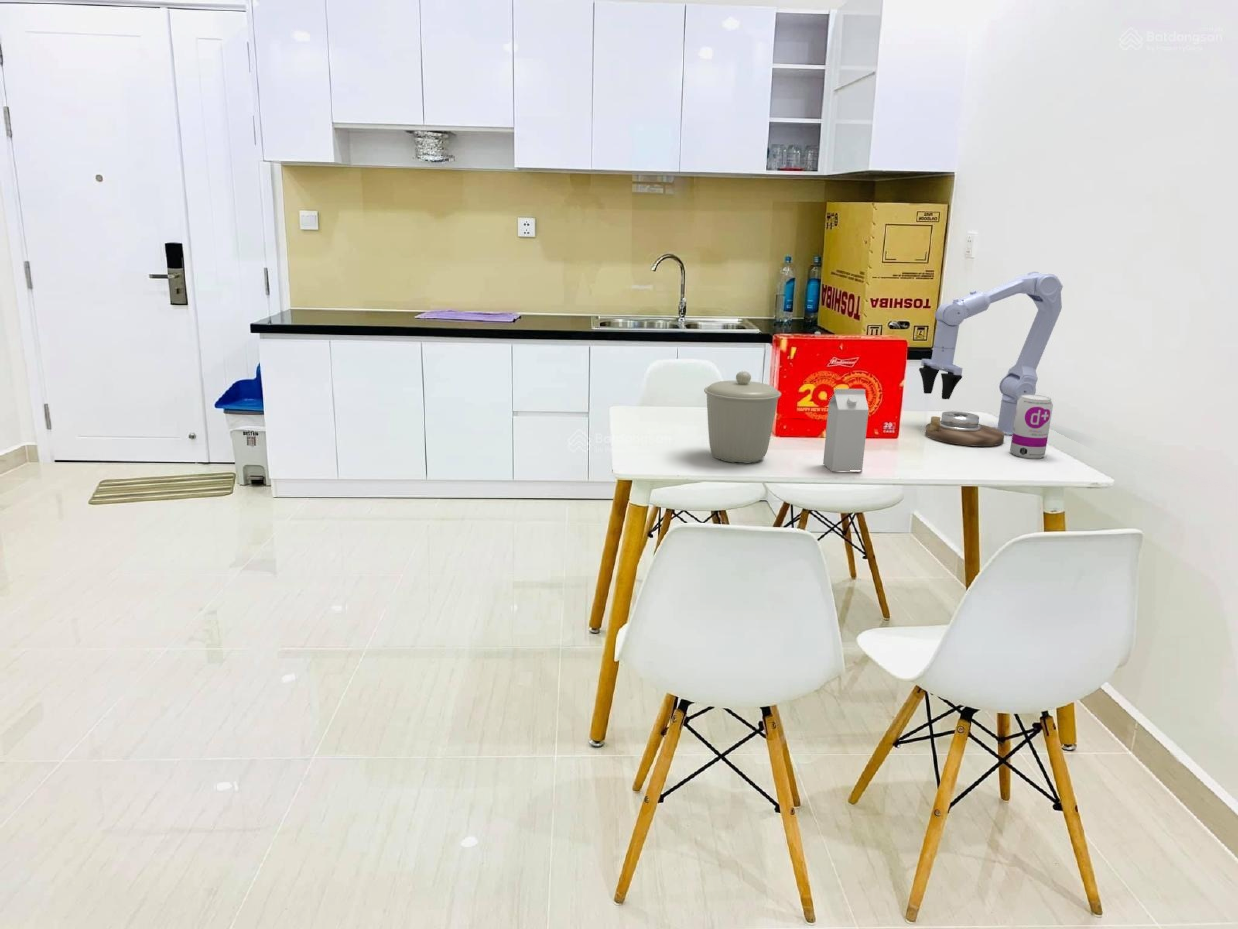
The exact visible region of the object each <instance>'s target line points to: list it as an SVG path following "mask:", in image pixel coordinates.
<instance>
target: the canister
mask: <svg viewBox="0 0 1238 929" xmlns="http://www.w3.org/2000/svg"><path fill="white" fill-rule="evenodd" d="M751 379H752V375H751V374H750V373H749V372H747V371H739V372H738V373H737V374H736V375H735V380H723V381H716V382H714V383H711V384H710V385H709V386H706V387H704V388H703V390H704V393H705V394H706V410H707V428H708V429H707V430H708V441H709V442H708V444H709V449H710V452H711V455H713V457H714V458H716V459H718V460H720V459H721V461H723V460H724V462H727V461H729V463H734V462H752V463H756V461H757V462H759V460H760V461H762V460H763V459H764V457H766V455H767V452H768V450H769V446H770V441H771V436H772V433H773V432H772V431H773V428H774V427H773V426H774V420H775V416H776V411H777V407H778V406H777V405H778V400H779V398H781V397H782V392H781V391H780V390H777V388H775V387H774V386H772V385H770V384H768V383H763V382H760V381H759V382H758V381H753V380H751Z"/></svg>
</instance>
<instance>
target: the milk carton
mask: <svg viewBox="0 0 1238 929" xmlns="http://www.w3.org/2000/svg"><path fill="white" fill-rule="evenodd" d="M830 398H831V399H830V400H829V402H828V409H827V419H826V429H825V439H824V451H823V460H822V465H824V467H826V466H827V467H826V468H827V469H828V470H829V469H830V470H831V472H832V471H850V470H862V471H863V465H864V455H865V446H866V437H867V429H868V419H869V418H868V417H869V405H868V401H867V398H866V389H864V388H836V389H835V391H834V394H833V395H832V397H830ZM830 470H829V471H830Z"/></svg>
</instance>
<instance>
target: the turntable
mask: <svg viewBox="0 0 1238 929" xmlns="http://www.w3.org/2000/svg"><path fill="white" fill-rule="evenodd" d="M941 418H942V417H941V416H933V415H932V416H930V422H929V423H927V424H926V426H925V435H926V436H927V437H928V438H931V439H933V440H936V441H938V442H943V443H947V444H953V445H958V446H959V445H960V446H969V447H971V446H972V447H992V446H998V445H1001V444H1003V443H1004V440H1005V434H1004V432H1003V431H1001V430H999V429H996V428H993V427H994V426H990V425H989V426H988V425H985V424H980V423H978V425H980V426H981V429H980V431H976V432H960V431H952V430H947V429H943V428H941V427H940V421H941Z"/></svg>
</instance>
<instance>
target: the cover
mask: <svg viewBox="0 0 1238 929" xmlns="http://www.w3.org/2000/svg"><path fill="white" fill-rule="evenodd" d="M940 418H941V419H940V427H941V428H943V429H947V430H952V431H960V432H976V431H980V429H981V426H980V425H981V424H980V423H979V421H980V416H979V415H977V414H976V413H975V414H974V413H970V412H966V411H965V412H963V411H953V410H952V411H950V410H949V411H944V412H943V411H942V413H941V417H940ZM978 424H980V425H978Z"/></svg>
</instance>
